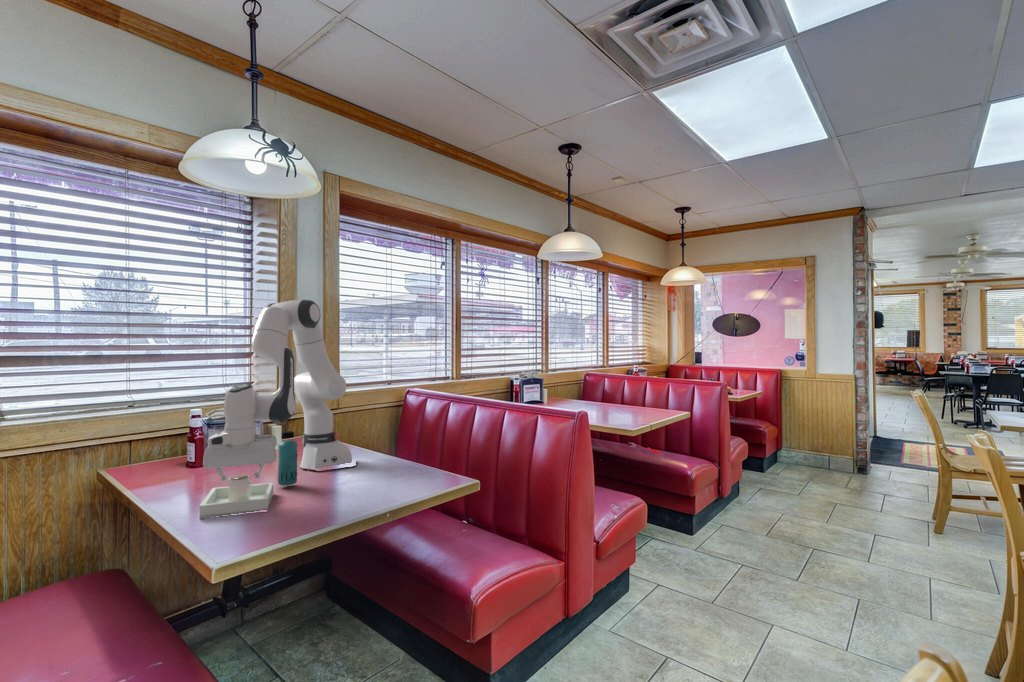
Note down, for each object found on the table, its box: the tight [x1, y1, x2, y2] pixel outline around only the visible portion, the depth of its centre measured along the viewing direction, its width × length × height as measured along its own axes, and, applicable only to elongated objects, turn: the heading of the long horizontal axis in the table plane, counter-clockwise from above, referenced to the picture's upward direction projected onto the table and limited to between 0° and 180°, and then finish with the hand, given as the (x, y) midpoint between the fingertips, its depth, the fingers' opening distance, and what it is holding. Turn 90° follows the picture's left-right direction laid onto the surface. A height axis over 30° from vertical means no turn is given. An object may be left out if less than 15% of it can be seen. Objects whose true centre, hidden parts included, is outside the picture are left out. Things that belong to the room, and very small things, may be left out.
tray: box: [199, 482, 274, 520], centre depth 156 cm, size 18×18×4 cm
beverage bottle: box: [277, 430, 299, 487], centre depth 175 cm, size 6×7×20 cm
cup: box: [227, 474, 251, 502], centre depth 156 cm, size 6×6×8 cm
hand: (240, 479), depth 156 cm, fingers open, 8 cm apart
